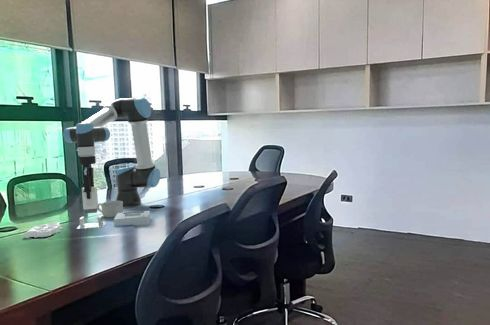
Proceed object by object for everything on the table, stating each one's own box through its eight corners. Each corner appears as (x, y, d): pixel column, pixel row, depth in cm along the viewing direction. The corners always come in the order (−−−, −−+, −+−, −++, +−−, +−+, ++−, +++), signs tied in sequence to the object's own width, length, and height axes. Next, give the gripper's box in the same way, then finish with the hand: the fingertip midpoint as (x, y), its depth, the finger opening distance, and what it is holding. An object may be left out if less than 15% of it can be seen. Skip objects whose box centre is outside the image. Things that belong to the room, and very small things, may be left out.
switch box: (118, 220, 201) (117, 212, 200) (150, 218, 204) (149, 210, 203) (114, 227, 187) (113, 218, 187) (149, 224, 190) (148, 215, 190)
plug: (85, 211, 191) (83, 187, 190) (98, 210, 192) (96, 186, 191) (83, 213, 187) (81, 188, 186) (97, 212, 188) (95, 187, 187)
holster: (80, 225, 194) (80, 215, 193) (106, 223, 196) (105, 213, 195) (76, 230, 184) (75, 220, 183) (103, 228, 186) (102, 218, 186)
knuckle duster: (35, 230, 188) (67, 228, 190) (20, 241, 170) (56, 238, 173) (34, 223, 188) (67, 221, 190) (19, 233, 170) (56, 231, 172)
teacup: (127, 215, 212) (126, 200, 212) (114, 220, 202) (113, 204, 201) (106, 214, 217) (105, 200, 216) (92, 219, 207) (91, 204, 206)
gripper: (82, 154, 194) (85, 201, 197) (74, 157, 178) (78, 208, 180) (98, 154, 196) (101, 200, 198) (91, 156, 179) (95, 207, 181)
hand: (90, 204), depth 189 cm, fingers closed on plug, 4 cm apart
